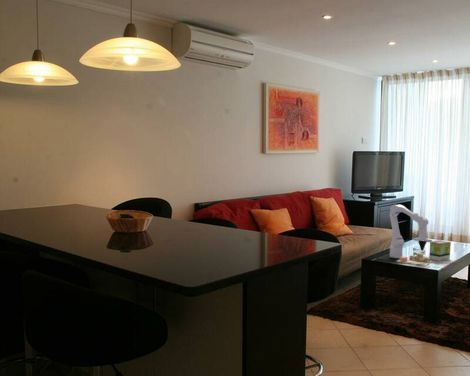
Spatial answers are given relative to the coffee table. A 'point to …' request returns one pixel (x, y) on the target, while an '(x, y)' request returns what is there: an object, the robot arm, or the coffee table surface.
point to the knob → (403, 258)
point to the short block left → (412, 258)
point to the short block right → (426, 260)
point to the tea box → (439, 250)
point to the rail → (414, 263)
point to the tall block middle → (419, 257)
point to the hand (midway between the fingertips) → (422, 250)
